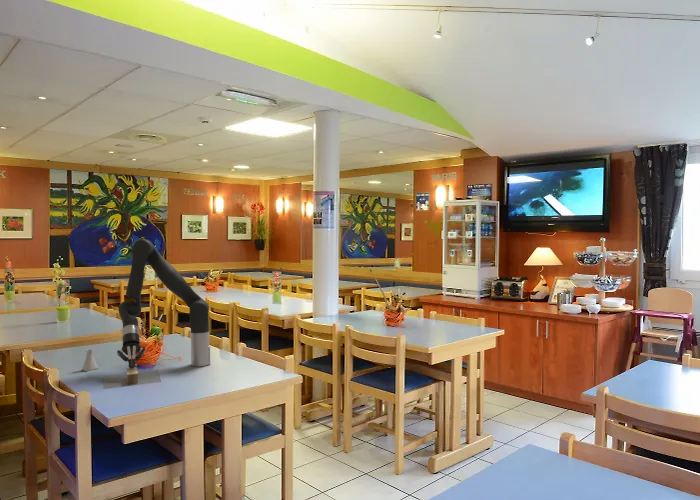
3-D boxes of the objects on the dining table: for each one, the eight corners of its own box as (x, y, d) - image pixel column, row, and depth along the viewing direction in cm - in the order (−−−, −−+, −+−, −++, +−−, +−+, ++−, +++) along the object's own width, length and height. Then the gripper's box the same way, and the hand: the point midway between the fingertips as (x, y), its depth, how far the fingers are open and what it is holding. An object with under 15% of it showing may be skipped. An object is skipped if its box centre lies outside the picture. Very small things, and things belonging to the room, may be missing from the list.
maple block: (137, 367, 244) (137, 373, 233) (137, 376, 244) (138, 383, 233) (126, 368, 242) (127, 375, 231) (127, 377, 242) (127, 384, 231)
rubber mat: (157, 370, 255) (157, 369, 255) (161, 382, 235) (161, 381, 235) (104, 376, 245) (104, 375, 245) (103, 389, 225) (103, 388, 225)
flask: (91, 372, 254) (90, 352, 253) (78, 371, 255) (78, 351, 255) (101, 368, 261) (100, 348, 260) (88, 367, 262) (88, 348, 262)
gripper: (115, 333, 243) (116, 365, 232) (145, 330, 248) (147, 361, 237) (116, 342, 248) (116, 373, 237) (145, 339, 253) (147, 370, 243)
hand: (132, 367), depth 237 cm, fingers closed
